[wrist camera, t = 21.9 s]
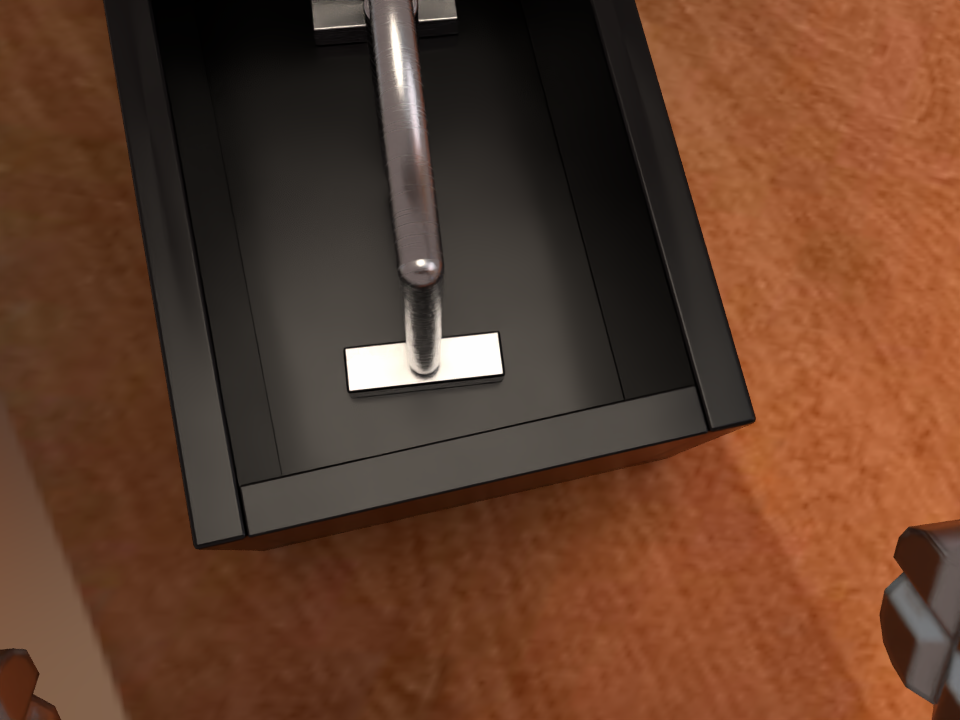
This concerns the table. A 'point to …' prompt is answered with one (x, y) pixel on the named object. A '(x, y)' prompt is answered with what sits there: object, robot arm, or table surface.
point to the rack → (407, 201)
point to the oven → (373, 269)
